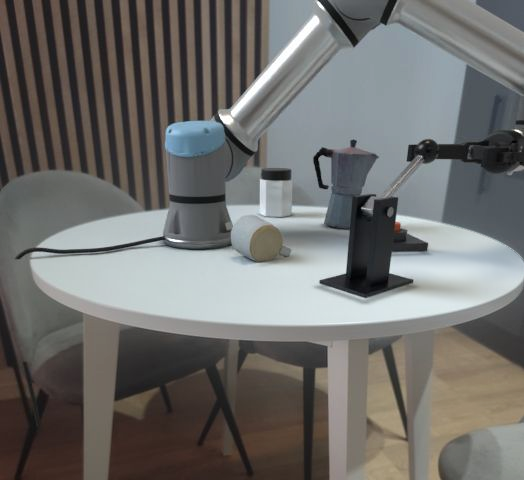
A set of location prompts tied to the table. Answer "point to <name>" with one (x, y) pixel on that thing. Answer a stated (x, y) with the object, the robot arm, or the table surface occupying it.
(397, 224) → the button
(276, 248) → the ceramic mug
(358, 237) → the bracket
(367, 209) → the lever
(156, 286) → the table surface
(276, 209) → the jar
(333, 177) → the moka pot
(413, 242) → the control block
